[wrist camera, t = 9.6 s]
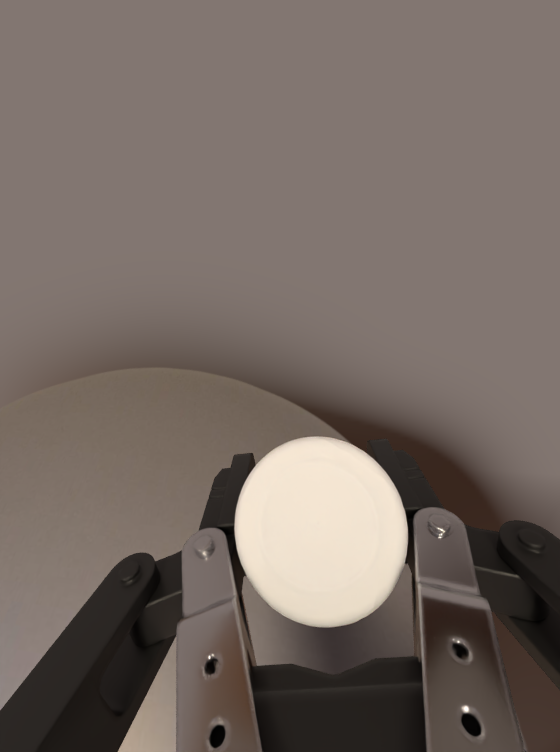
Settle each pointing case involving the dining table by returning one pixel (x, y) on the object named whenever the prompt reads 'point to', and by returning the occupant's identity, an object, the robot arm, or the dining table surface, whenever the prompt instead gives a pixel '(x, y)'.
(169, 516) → the dining table surface
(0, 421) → the dining table surface
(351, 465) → the sprinkles bottle
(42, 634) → the dining table surface
